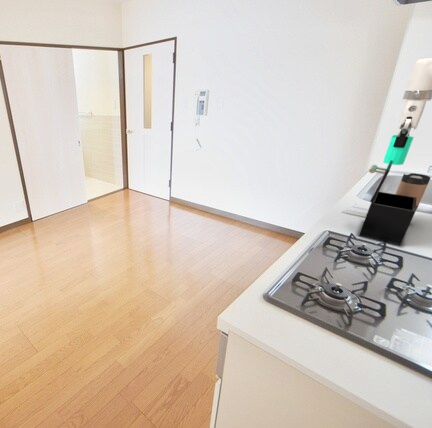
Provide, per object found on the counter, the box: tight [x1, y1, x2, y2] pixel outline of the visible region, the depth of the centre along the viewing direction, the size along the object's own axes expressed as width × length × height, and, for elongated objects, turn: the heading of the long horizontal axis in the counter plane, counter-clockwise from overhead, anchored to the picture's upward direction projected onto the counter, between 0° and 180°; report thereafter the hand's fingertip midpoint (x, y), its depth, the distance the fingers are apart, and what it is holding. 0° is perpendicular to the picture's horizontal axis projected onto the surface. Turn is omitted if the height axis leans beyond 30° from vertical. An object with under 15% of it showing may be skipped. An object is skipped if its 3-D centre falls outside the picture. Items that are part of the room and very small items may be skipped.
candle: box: [382, 134, 414, 166], centre depth 109 cm, size 6×6×12 cm
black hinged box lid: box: [368, 160, 393, 203], centre depth 106 cm, size 12×17×5 cm
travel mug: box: [395, 172, 431, 210], centre depth 113 cm, size 8×8×20 cm
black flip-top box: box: [358, 191, 417, 247], centre depth 107 cm, size 12×17×14 cm
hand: (399, 145), depth 109 cm, fingers closed on candle, 6 cm apart
